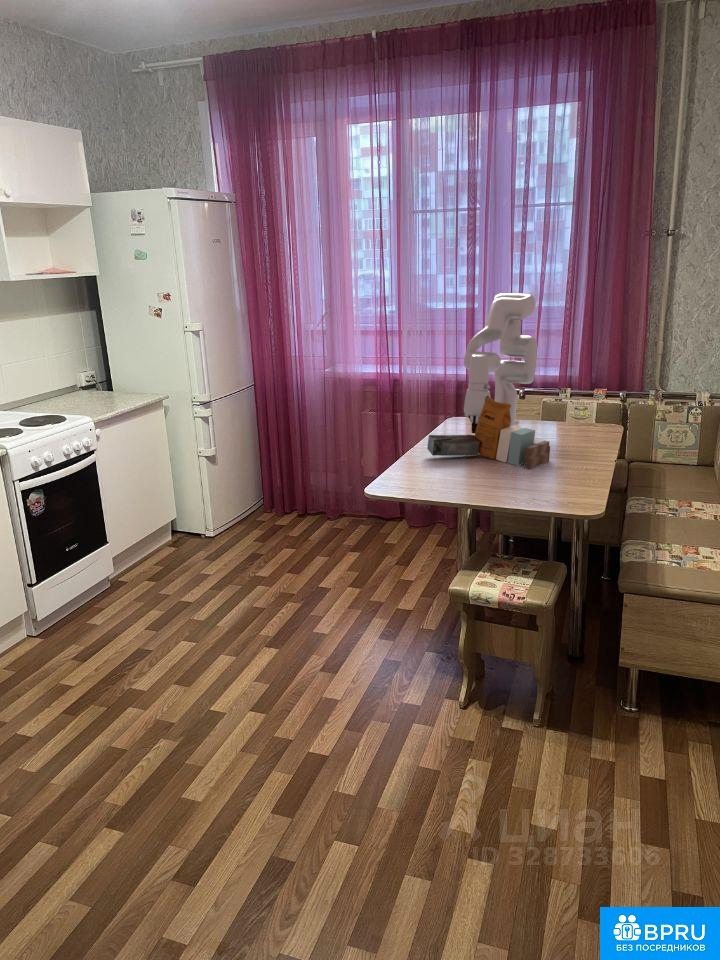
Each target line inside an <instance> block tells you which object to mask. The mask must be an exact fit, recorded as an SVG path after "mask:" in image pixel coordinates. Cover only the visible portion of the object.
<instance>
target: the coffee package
mask: <svg viewBox="0 0 720 960" xmlns="http://www.w3.org/2000/svg"><path fill="white" fill-rule="evenodd" d="M490 397H491V396H490ZM490 397H487V399H486V402H485V404H484V406H483V409H482V411H481V414H480V416H479V419H478V424H477V427H476V431H475V433H474V437H476V438H477V439H478V440H479V441H480V446H479V452H478V455H480V456H482V457H484V458H487V459H491V460H496V456H497V450H498V444H499V438H500V432H501V430H502V429H504V428H507V427H510V425H511V416H510V407H511V405H510V404H506V403H499V402H496V401H495V399H493V398H492V397H491V398H490Z"/></svg>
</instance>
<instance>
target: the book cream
mask: <svg viewBox="0 0 720 960" xmlns="http://www.w3.org/2000/svg"><path fill="white" fill-rule="evenodd" d="M523 428H524V427H522V426H518V425H513V426H510V427H507V428H504V429H502V430H501V432H500V438H499V444H498V450H497V456H496V459H495V460H497V461H499V462H503V463H505V462H507V463H508V456H509V448H510V439H511V432H514V431H517V430H520V429H523Z"/></svg>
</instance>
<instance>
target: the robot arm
mask: <svg viewBox="0 0 720 960" xmlns="http://www.w3.org/2000/svg"><path fill="white" fill-rule="evenodd" d="M535 309H536V298H535V297H534V295H532V294H531V293H530V294H529V293H511V292H510V293H498V294H496V295H495V296H494V298H493V301H492V303H491V305H490V308H489V311H488V312H489V313H488V315H487V319H486V321H485V322H486V323H485V325H484V328H482V330H480V331H478V332H477V333H476V334H475V335H474V336H473V337H472V338H471V339H470V340H469V342H468V344H467V347H466V350H465V352H464V353H465V354H464V358H463V365H464V367H465V369H467V370H468V385H467V386H468V388H467V389H466V393H465V397H464V403H463V404H464V405H463V412H464V417H466V418H468V419H469V421H470V423H471V434H475V431H476V427H477V424H478V419H479V416H480V414H481V411H482V409H483V406H484V404H485V402H486V399H487V397H490V398H492V397H491V392H490V390H489V389H491V385H489V376H490V374H489V373H493V374H494V386H495V387H494V388H495V389H494V401H496V402H499V403H506V404H510V405H511V407H510V416H511V425H510V426H513V425H515V426H518V425H519V424H520V420H518V419H516V414H517V398H518V391H517V389H516V387H515V385H514V384H523V385H529V384H532V383H533V381H534V380H535V376H536V370H537V367H536V366H537V359H538V358H537V356H538V342H537V339H536V337H534V336H531V335H522V334H521V333H522V331H521V330H522V322H521V320H522V321H523V320H525V319H527V318H528V317H530V316H531V315H532V314H533V313H534V311H535ZM496 341H499V353H500V355H501V356H503V357H506V358H507V357H508V358H518V359H523V360H512V359H503V360H502V358H501V356H500V355H499V354H498V353H496V352H489V351H488V352H487V351H478V350H479V348H481V347H482V346H484V345H487V344H490V343H492V342H496Z"/></svg>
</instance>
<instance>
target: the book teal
mask: <svg viewBox="0 0 720 960" xmlns="http://www.w3.org/2000/svg"><path fill="white" fill-rule="evenodd" d="M522 428H523V429H520V430H517V431H514V432H511V439H510V448H509V456H508V462H507V463H508V464H510V463H511V465H514V464H516V465H515V466H521V465H523V464H525V450H526V447H529V446H532V445H534V443H535V435H536V430H535V429H532V428H529V427H528V428H527V427H522ZM522 463H523V464H522ZM520 464H521V465H520Z"/></svg>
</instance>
